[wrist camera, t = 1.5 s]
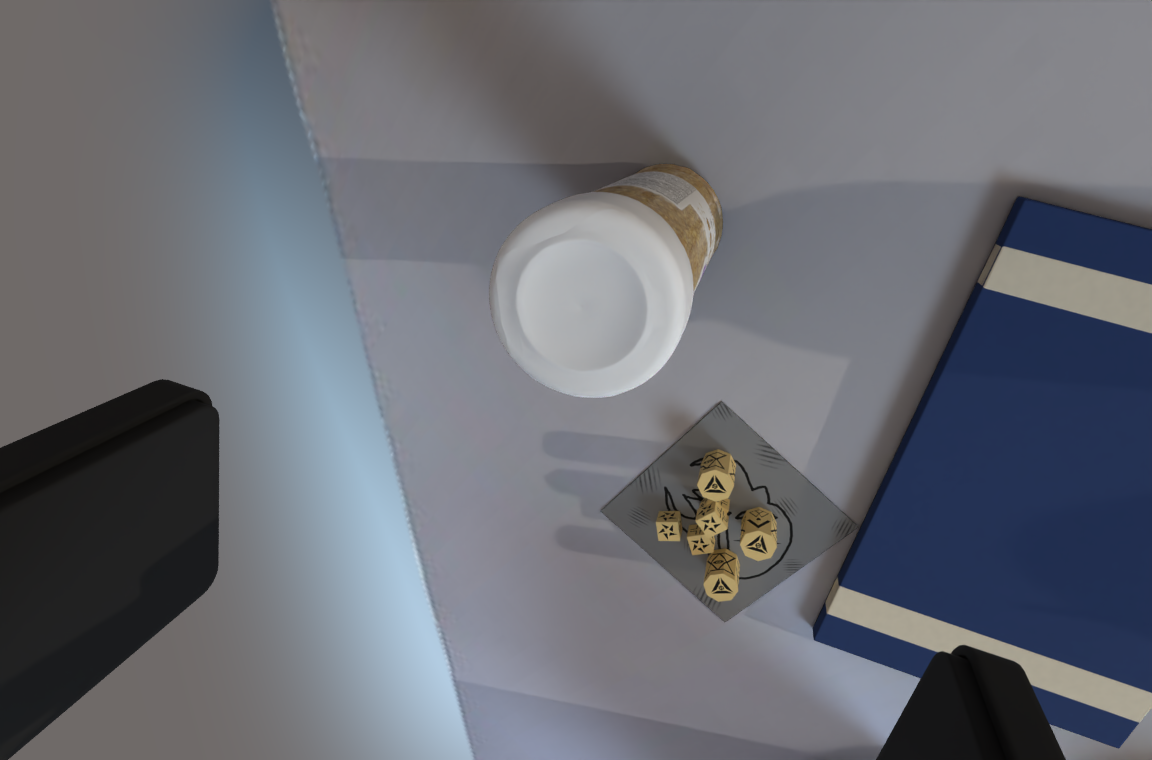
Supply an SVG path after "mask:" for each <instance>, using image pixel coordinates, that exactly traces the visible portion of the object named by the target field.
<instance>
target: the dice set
mask: <svg viewBox="0 0 1152 760" xmlns="http://www.w3.org/2000/svg"><path fill="white" fill-rule="evenodd" d="M736 470H737V465H736V463H735V461H734V460H733V457H732V455H731V454H729V453H726V452H723V451H721V450H719V449H716V450H714V451H711V452H709V453H706V454H705V455H704V457H703V459H702V462H701V464H700V467H699V472H698V477H697V482H696V486H697V488H698V490H699V492H700V494H701V496H702V497H703V498H704V499H703V500H702V501H701V503H700V504H699V506H698V508H697V509H696V515H695V520H694V521H695V523H696V524H697V525H694V524H693V525H690V526H689V527H688V528H687V533H686V540H687V543H688V546H689V549H690V553H691V555H692V556H699V555H707V554H710V555H709V556H708V558H707V559H706V563H705V570H704V577H703V584H702V585H703V588H704V591H705V594H706V595H707V596H708V597H709V598H711V599H713V600H715V601H716V602H718V603H720V602H729V601H732V600H733V599H734V597H735V596H736V595H737V593H738V592H739V586H740V572H741V565H740V563H739V558H738V556H737V555H735V554H734V553H732V552H731V551H729V550H728V549H726V548H725V549H722V550H721V549H718V550H715V546H716V541H715V537H714V536H716V535H719V534H721V533H723V532H725V531H727V530H728V529H729V520H730V517H729V515H728V513H729V511H730V504H731V500H730V499H729V498H730V496H731V494H732V492H733V490H734V487H735V480H736ZM655 526H656V534H657V541H658V542H680V541H681V538H682V533H683V527H682V516H681V512H680V511H678V512H676V511H670V512H669V511H662V512H661V511H659V512H658V513H657V517H656V520H655ZM739 546H740V548H741V550H742V552H743V554H744V556H745V557H747V558H749V559H752V560H754V561H756V562H761V561H765V560H768V559H771V558H772V557H773V555H774V553H775V552H776V550H777V548H778V523H777V522H776V520H775V517H774V515H773V513H772V512H771V511H769V510H766V509H763V508H760V507H759V508H757V507H756V508H754V509H750V510H748V511H746V512H745V514H744V516H743V518H742V520H741V523H740V536H739Z"/></svg>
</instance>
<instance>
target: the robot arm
mask: <svg viewBox="0 0 1152 760" xmlns="http://www.w3.org/2000/svg"><path fill="white" fill-rule="evenodd" d="M218 528H219V414H218V412H217V410H216V409H215V408H214V407H213V406H212V401H211V399H210V397H209V396H208V395H207V394H206V393H204V392H203V391H200V390H196V389H194V388H191V387H187V386H185V385H181V384H179V383H176V382H173V381H170V380H163V379H162V380H158V381H154V382H152V383H149V384H147V385H145V386H142V387H140V388H138V389H136V390H133V391H131V392H128V393H126V394H124V395H122V396H119V397H117V398H115V399H112V400H110V401H108V402H106V403H103V404H101V405H98V406H96V407H94V408H91V409H89V410H87V411H85V412H82V413H80V414H78V415H75V416H73V417H71V418H68V419H66V420H64V421H61V422H59V423H57V424H55V425H52V426H50V427H48V428H46V429H43V430H41V431H38V432H36V433H34V434H31V435H29V436H27V437H24V438H22V439H20V440H17V441H15V442H13V443H11V444H8V445H6V446H4V447H2V448H0V760H8V759H9V758H10V757H12V756H13V755H14V754H15V753H16V752H17V751H18V750H20V749H21V748H22V747H23V746H24V745H26V744H27V743H28V742H29V741H30V740H31V739H33V738H34V737H35V736H36V735H38V734H39V733H40V732H41V731H42V730H43V729H45V728H46V727H47V726H48V725H49V724H50V723H52V722H53V721H54V720H55V719H56V718H58V717H59V716H60V715H61V714H62V713H63V712H65V711H66V710H67V709H68V708H69V707H71V706H72V705H73V704H74V703H75V702H76V701H78V700H79V699H80V698H81V697H82V696H84V695H85V694H86V693H87V692H88V691H89V690H91V689H92V688H93V687H94V686H95V685H97V684H98V683H99V682H100V681H101V680H102V679H104V678H105V677H106V676H107V675H108V674H109V673H111V672H112V671H113V670H114V669H115V668H117V667H118V666H119V665H120V664H121V663H123V662H124V661H125V660H126V659H127V658H128V657H130V656H131V655H132V654H133V653H134V652H135V651H137V650H138V649H139V648H140V647H141V646H143V645H144V644H145V643H146V642H147V641H148V640H150V639H151V638H152V637H153V636H154V635H156V634H157V633H158V632H159V631H160V630H161V629H163V628H164V627H165V626H166V625H167V624H169V622H171V621H172V620H173V619H174V618H176V617H177V616H178V615H179V614H180V613H181V612H183V611H184V610H185V609H186V608H187V607H189V606H190V605H191V604H192V603H193V602H195V601H196V600H197V599H198V598H199V597H200V596H201V595H203V594H204V593H205V592H206V591H207V590H208V588H209V587H210V586H211V584H212V583H213V581H214V579H215V577H216V574H217V571H218V544H219V540H218V539H219V534H218V533H219V529H218ZM876 760H1066V759H1065V757H1064V755H1063V753H1062V751H1061V748H1060V746H1059V744H1058V742H1057V740H1056V738H1055V735H1054V733H1053V731H1052V729H1051V727H1050V725H1049V723H1048V720H1047V718H1046V716H1045V714H1044V712H1043V710H1042V707H1041V705H1040V703H1039V701H1038V699H1037V697H1036V694H1035V692H1034V690H1033V688H1032V686H1031V684H1030V682H1029V679H1028V677H1027V675H1026V673H1025V671H1024V670H1023V668H1022V667H1021V665H1020V664H1018V663H1016V662H1015V661H1012V660H1009V659H1006V658H1003V657H1000V656H997V655H994V654H991V653H988V652H985V651H982V650H979V649H976V648H973V647H970V646H967V645H959V646H958V647H956V648H955V649H954V650H953V651H952V652H951V654H950V653H947V652H944V651H940V652H938V653H937V654H935V655H934V657H933V658H932V660H931V661H930V663H929V665H928V667H927V669H926V670H925V672H924V674H923V676H922V678H921V679H920V681H919V683H918V685H917V687H916V689H915V690H914V692H913V694H912V696H911V698H910V699H909V701H908V703H907V705H906V707H905V708H904V710H903V712H902V714H901V716H900V718H899V719H898V721H897V723H896V725H895V727H894V728H893V730H892V732H891V734H890V736H889V737H888V739H887V741H886V743H885V745H884V746H883V748H882V750H881V752H880V754H879V756H878V757H877V759H876Z"/></svg>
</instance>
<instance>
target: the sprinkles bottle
mask: <svg viewBox="0 0 1152 760" xmlns="http://www.w3.org/2000/svg"><path fill="white" fill-rule="evenodd" d="M722 228H723V219H722V209H721V205H720V203H719V200H718V198H717V196H716V194H715V192H714V190H713V189H712V188H711V187H710V185H709V184H708V183H707V182H706V181H705V180H704V179H703V178H702V177H700V176H699V175H698V174H696V173H695V172H694V171H692V170H691V169H689V168H686V167H681V166H677V165H674V164H658V165H654V166H649V167H646V168H643V169H642V170H640V171H639V172H637V173H635V174H634V175H631V176H628V177H626V178H624V179H621V180H619V181H617V182H614V183H612V184H609V185H607V186H604V187H602V188H600V189H597V190H595V191H593V192H588V193H582V194H577V195H573V196H570V197H567V198H564V199H561V200H559V201H557V202H554V203H552V204H550V205H548V206H546V207H544V208H542V209H540V210H538V211H536V212H535V213H533V214H532V215H530V216H529V217H527V218H526V219H525V220H523V221H522V222H521V223H520V224H519V225H518V226H517V227H516V228H515V229H514V230H513V231H512V232H511V233H510V234H509V236H508V237H507V239H506V240H505V242H504V243H503V245H502V247H501V248H500V250H499V252H498V254H497V257H496V259H495V262H494V265H493V269H492V273H491V279H490V287H489V301H490V310H491V315H492V319H493V323H494V326H495V329H496V332H497V334H498V336H499V338H500V340H501V342H502V344H503V346H504V347H505V349H506V351H507V352H508V354H509V355H510V356H511V358H512V359H513V360H514V361H515V363H516V364H517V365H518V366H519V367H520V368H521V369H522V370H523V371H525V372H526V373H527V374H528V375H529V376H530V377H532V378H533V379H535V380H536V381H537V382H539V383H541V384H542V385H544V386H546V387H548V388H550V389H553V390H555V391H558V392H561V393H564V394H568V395H571V396H577V397H585V398H601V397H610V396H615V395H618V394H621V393H623V392H626V391H629V390H631V389H633V388H636V387H638V386H640V385H641V384H643V383H644V382H646V381H647V380H649V379H650V378H651V377H652V376H654V375H655V374H656V373H657V372H658V371H659V370H660V369H661V368H662V367H663V366H664V364H665V363H666V362H667V361H668V359H669V358H670V357H671V355H672V354H673V352H674V350H675V348H676V347H677V345H678V343H679V341H680V339H681V337H682V334H683V332H684V330H685V327H686V325H687V322H688V319H689V316H690V312H691V308H692V303H693V294H694V292H695V290H696V288H697V286H698V284H699V282H700V280H701V278H702V276H703V274H704V272H705V269H706V267H707V265H708V263H709V261H710V259H711V257H712V256H713V254H714V252H715V251H716V249H717V248H718V245H719V242H720V239H721V234H722Z"/></svg>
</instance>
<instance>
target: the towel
mask: <svg viewBox="0 0 1152 760" xmlns="http://www.w3.org/2000/svg"><path fill="white" fill-rule="evenodd" d="M813 637H814V640H815V641H818V642H821V643H824V644H826V645H829V646H832V647H835V648H838V649H840V650H843V651H846V652H849V653H852V654H854V655H857V656H860V657H863V658H866V659H868V660H871V661H874V662H877V663H880V664H883V665H885V666H888V667H891V668H894V669H897V670H899V671H902V672H905V673H908V674H911V675H913V676H916V677H919V678H922V676H923V674H924V672H925V670H926V669H927V667H928V665H929V663H930V661H931V660H932V658H933V657H934V655H935V654H937V653H938V652H940V651H944V652H947V653H950V654H951V652H952V651H953V650H954V649H955V648H956V647H958V646H959V645H967V646H970V647H973V648H976V649H979V650H982V651H985V652H988V653H991V654H994V655H997V656H1000V657H1003V658H1006V659H1009V660H1012V661H1015V662H1016V663H1018V664H1020V665H1021V667H1022V668H1023V670H1024V671H1025V673H1026V675H1027V677H1028V679H1029V682H1030V684H1031V686H1032V688H1033V690H1034V692H1035V694H1036V697H1037V699H1038V701H1039V703H1040V705H1041V707H1042V710H1043V712H1044V714H1045V716H1046V718H1047V720H1048V723H1049V724H1051V725H1054V726H1057V727H1059V728H1062V729H1065V730H1068V731H1071V732H1073V733H1076V734H1079V735H1082V736H1085V737H1088V738H1090V739H1093V740H1096V741H1099V742H1102V743H1104V744H1107V745H1110V746H1113V747H1116V748H1120V747H1121V745H1122V744H1123V743H1124V741H1125V740H1126V739H1127V738H1128V736H1129V735H1130V734H1131V732H1132V731H1133V730H1134V729H1135V727H1136V726H1137V725H1138V724H1139V722H1141V720H1142V719H1143V718H1144V717H1145V715H1146V714H1147V713H1148V711H1149V710H1150V709H1151V708H1152V229H1148V228H1144V227H1140V226H1136V225H1132V224H1128V223H1124V222H1120V221H1116V220H1112V219H1108V218H1104V217H1100V216H1096V215H1092V214H1088V213H1084V212H1080V211H1076V210H1072V209H1068V208H1064V207H1060V206H1056V205H1052V204H1048V203H1044V202H1040V201H1036V200H1032V199H1028V198H1024V197H1018V198H1017V199H1016V201H1015V203H1014V205H1013V208H1012V210H1011V212H1010V214H1009V216H1008V218H1007V220H1006V222H1005V224H1004V226H1003V229H1002V231H1001V233H1000V235H999V237H998V239H997V241H996V243H995V245H994V248H993V250H992V252H991V254H990V256H989V258H988V260H987V262H986V264H985V267H984V269H983V271H982V273H981V275H980V277H979V279H978V281H977V283H976V286H975V288H974V290H973V292H972V294H971V296H970V298H969V300H968V302H967V305H966V307H965V309H964V311H963V313H962V315H961V317H960V319H959V321H958V323H957V326H956V328H955V330H954V332H953V334H952V336H951V338H950V340H949V342H948V345H947V347H946V349H945V351H944V353H943V355H942V357H941V359H940V361H939V364H938V366H937V368H936V370H935V372H934V374H933V376H932V378H931V380H930V383H929V385H928V387H927V389H926V391H925V393H924V395H923V397H922V399H921V401H920V404H919V406H918V408H917V410H916V412H915V414H914V416H913V418H912V420H911V423H910V425H909V427H908V429H907V431H906V433H905V435H904V437H903V439H902V442H901V444H900V446H899V448H898V450H897V452H896V454H895V456H894V458H893V461H892V463H891V465H890V467H889V469H888V471H887V473H886V475H885V477H884V479H883V482H882V484H881V486H880V488H879V490H878V492H877V494H876V496H875V498H874V501H873V503H872V505H871V507H870V509H869V511H868V513H867V515H866V517H865V520H864V522H863V524H862V526H861V528H860V530H859V532H858V534H857V536H856V539H855V541H854V543H853V545H852V547H851V549H850V551H849V553H848V555H847V558H846V560H845V562H844V564H843V566H842V568H841V570H840V572H839V574H838V576H837V579H836V581H835V583H834V585H833V587H832V589H831V591H830V593H829V595H828V598H827V600H826V602H825V604H824V606H823V608H822V610H821V612H820V614H819V617H818V619H817V621H816V623H815V625H814V627H813Z"/></svg>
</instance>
